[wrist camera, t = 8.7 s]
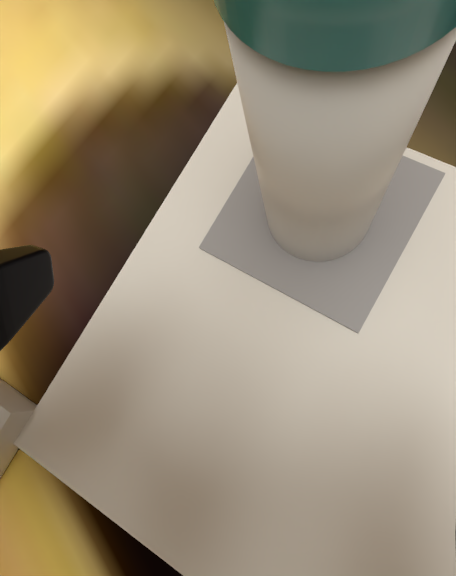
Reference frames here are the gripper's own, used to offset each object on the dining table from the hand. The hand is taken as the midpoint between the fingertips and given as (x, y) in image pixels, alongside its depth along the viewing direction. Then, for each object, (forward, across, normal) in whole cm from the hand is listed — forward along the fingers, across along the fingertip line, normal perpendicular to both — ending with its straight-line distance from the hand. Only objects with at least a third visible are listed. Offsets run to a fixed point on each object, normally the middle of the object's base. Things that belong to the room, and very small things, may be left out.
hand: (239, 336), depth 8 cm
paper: (+6, -1, +5) cm, 8 cm away
